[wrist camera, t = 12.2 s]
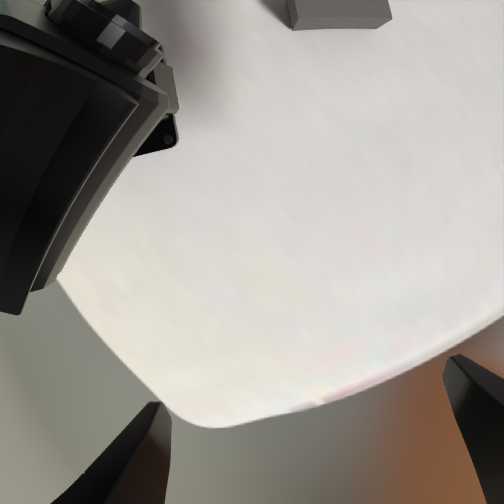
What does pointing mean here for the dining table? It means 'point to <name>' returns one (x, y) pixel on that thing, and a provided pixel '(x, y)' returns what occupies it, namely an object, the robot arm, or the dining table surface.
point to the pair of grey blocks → (338, 14)
